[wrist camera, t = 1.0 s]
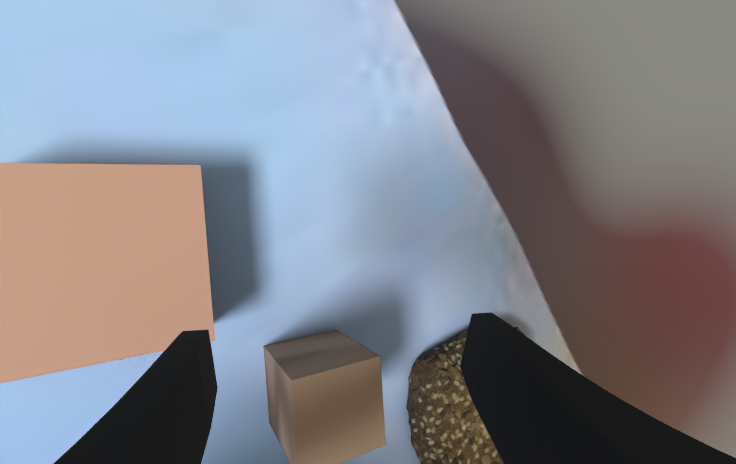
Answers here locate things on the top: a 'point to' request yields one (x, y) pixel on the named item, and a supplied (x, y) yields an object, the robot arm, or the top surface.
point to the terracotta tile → (98, 263)
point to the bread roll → (446, 410)
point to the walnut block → (324, 398)
